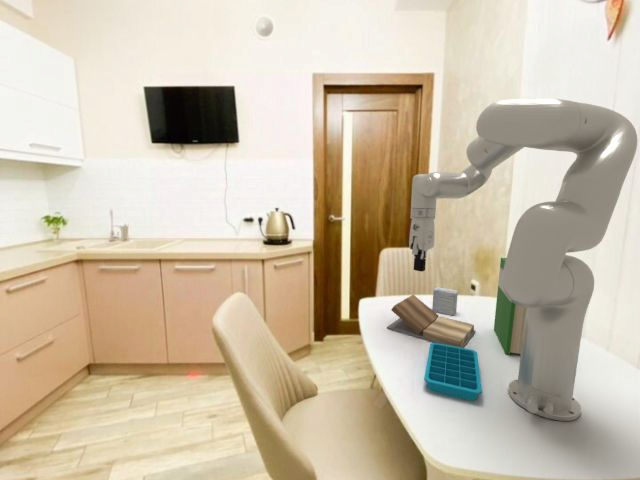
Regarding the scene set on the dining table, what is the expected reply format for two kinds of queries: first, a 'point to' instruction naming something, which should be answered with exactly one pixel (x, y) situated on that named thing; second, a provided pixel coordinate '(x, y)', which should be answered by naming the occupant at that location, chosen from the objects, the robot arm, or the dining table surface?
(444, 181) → the robot arm
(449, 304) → the medicine box
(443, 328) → the oak plank
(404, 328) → the underlay mat
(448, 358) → the ice cube tray
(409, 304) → the walnut plank
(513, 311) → the hardback book
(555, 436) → the dining table surface
